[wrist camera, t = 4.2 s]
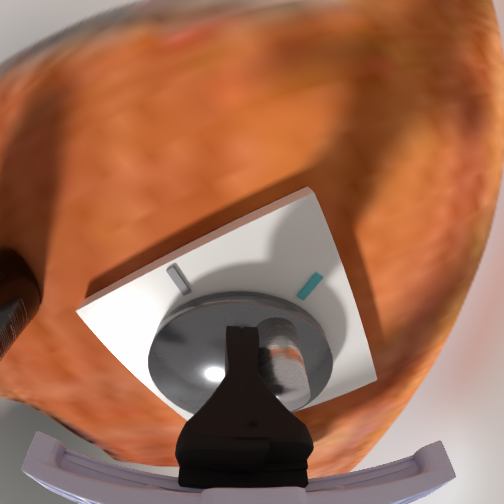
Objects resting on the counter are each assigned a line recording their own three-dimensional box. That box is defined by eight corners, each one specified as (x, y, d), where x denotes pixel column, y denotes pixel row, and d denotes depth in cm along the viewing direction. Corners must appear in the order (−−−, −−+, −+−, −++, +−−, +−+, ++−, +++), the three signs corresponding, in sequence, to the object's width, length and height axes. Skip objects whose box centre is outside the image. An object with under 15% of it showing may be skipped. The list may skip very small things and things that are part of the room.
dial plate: (372, 367, 21) (378, 381, 20) (205, 421, 24) (204, 434, 23) (307, 186, 15) (315, 193, 13) (84, 299, 17) (74, 312, 16)
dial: (273, 420, 21) (279, 476, 16) (138, 381, 19) (120, 442, 13) (362, 328, 17) (395, 396, 12) (184, 258, 14) (155, 333, 9)
